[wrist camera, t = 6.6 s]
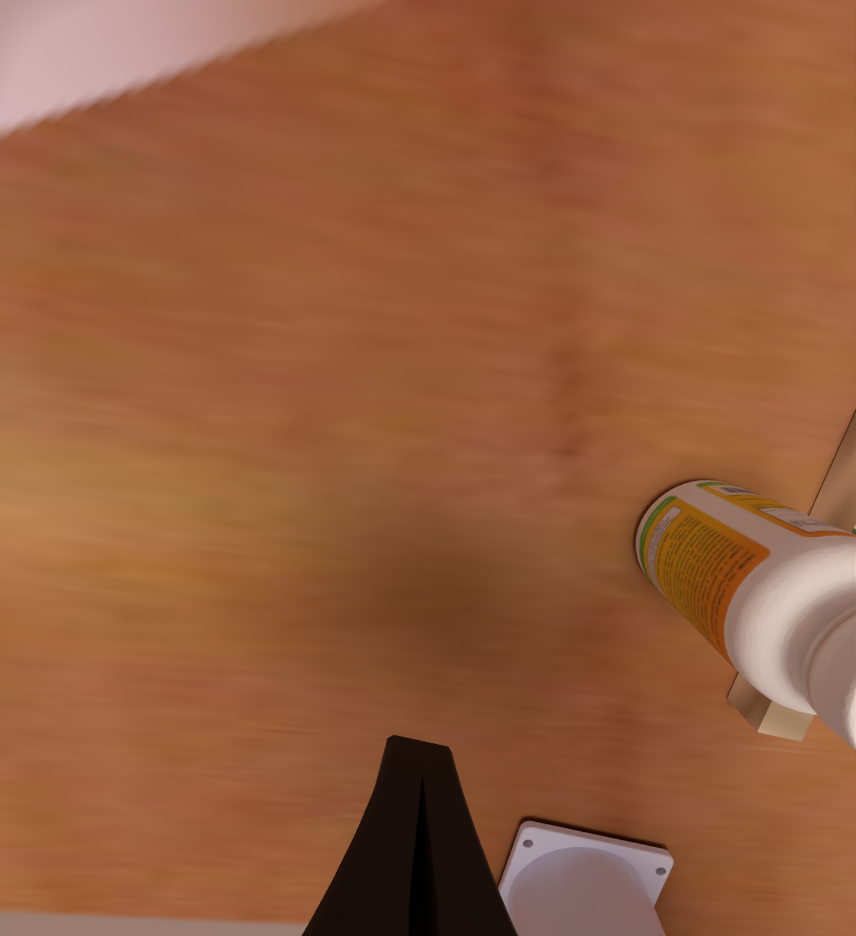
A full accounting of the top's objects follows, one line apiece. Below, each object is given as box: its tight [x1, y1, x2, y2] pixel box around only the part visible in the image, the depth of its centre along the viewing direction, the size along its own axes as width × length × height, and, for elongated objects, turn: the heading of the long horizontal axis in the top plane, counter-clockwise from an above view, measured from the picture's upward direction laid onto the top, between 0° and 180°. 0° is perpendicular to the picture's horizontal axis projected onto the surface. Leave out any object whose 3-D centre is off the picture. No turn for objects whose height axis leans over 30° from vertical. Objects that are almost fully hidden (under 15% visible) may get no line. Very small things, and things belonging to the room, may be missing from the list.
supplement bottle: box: [636, 480, 856, 751], centre depth 14 cm, size 5×5×10 cm
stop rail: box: [727, 412, 856, 742], centre depth 18 cm, size 14×2×2 cm, turn 167°
